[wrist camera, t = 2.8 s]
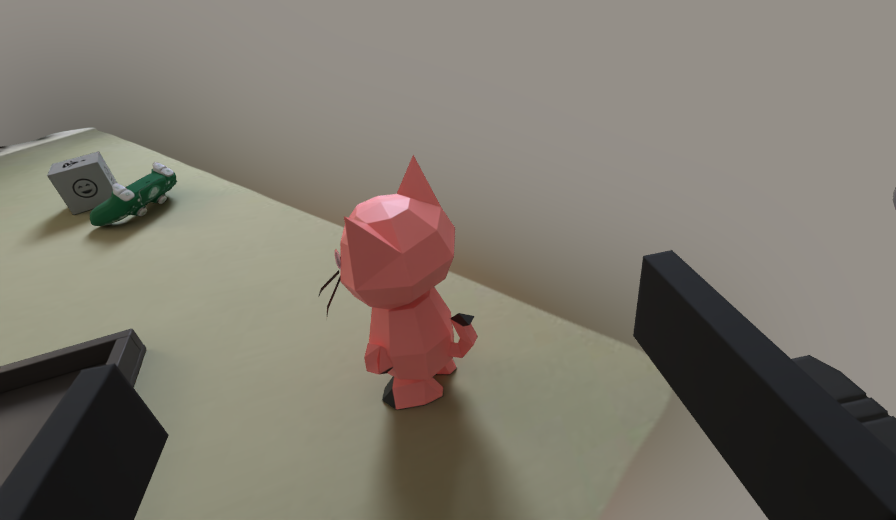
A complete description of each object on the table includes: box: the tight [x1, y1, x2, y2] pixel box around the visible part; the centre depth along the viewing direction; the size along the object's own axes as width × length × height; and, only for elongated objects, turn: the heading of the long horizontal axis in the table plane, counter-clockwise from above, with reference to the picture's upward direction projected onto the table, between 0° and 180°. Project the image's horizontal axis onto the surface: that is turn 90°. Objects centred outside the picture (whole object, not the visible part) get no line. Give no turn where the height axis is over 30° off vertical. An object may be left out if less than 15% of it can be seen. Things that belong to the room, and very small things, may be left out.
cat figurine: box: [319, 156, 478, 410], centre depth 23 cm, size 7×7×12 cm
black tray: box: [0, 329, 146, 487], centre depth 25 cm, size 12×12×2 cm
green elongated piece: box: [90, 162, 177, 226], centre depth 52 cm, size 9×4×6 cm
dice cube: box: [47, 152, 118, 215], centre depth 56 cm, size 5×5×5 cm
